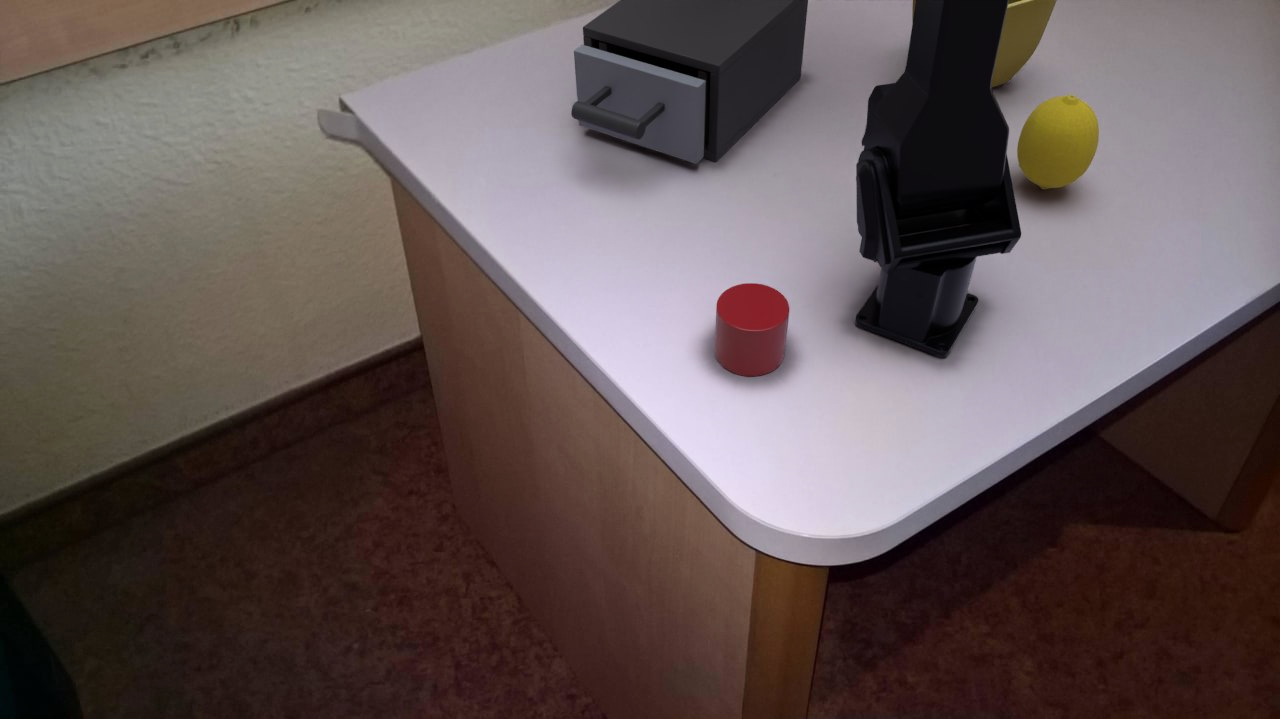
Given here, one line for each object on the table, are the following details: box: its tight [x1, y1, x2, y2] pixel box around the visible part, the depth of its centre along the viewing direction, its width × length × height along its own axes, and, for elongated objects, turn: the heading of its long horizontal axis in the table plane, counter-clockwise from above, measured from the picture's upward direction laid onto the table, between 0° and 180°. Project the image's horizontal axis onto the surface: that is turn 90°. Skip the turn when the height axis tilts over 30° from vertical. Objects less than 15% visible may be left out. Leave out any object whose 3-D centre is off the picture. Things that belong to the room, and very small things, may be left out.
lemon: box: [1016, 94, 1100, 190], centre depth 77 cm, size 6×6×8 cm
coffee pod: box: [714, 282, 790, 377], centre depth 66 cm, size 5×5×4 cm
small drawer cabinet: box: [582, 0, 809, 163], centre depth 88 cm, size 16×13×9 cm
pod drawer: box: [570, 41, 711, 164], centre depth 85 cm, size 19×11×7 cm, turn 148°
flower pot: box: [911, 0, 1058, 89], centre depth 89 cm, size 9×9×9 cm
